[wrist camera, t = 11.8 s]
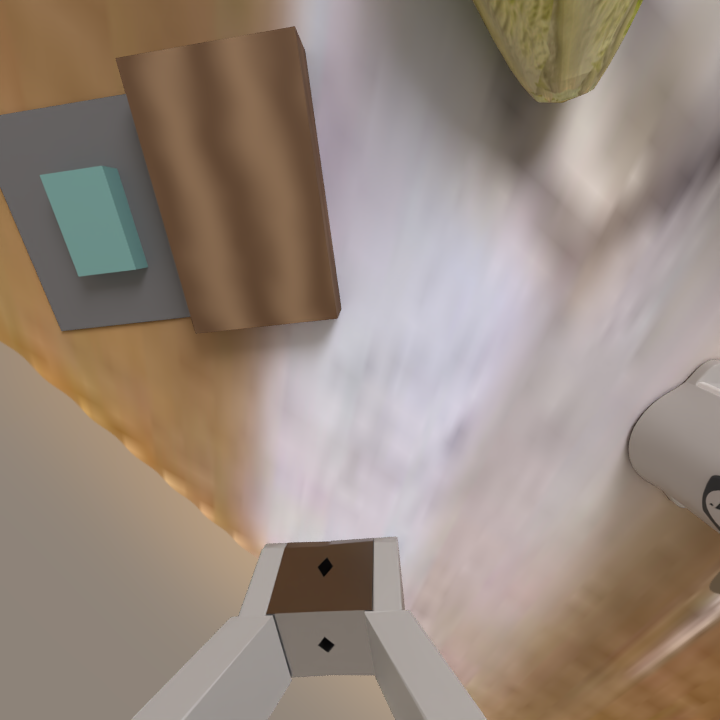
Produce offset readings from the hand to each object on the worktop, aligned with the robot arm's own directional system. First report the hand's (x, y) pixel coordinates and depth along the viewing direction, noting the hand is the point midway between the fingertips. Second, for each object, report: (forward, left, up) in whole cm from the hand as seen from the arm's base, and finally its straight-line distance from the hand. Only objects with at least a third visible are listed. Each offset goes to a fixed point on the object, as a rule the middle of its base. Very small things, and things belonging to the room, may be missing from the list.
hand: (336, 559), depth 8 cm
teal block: (+25, -10, -29) cm, 39 cm away
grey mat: (+26, -10, -31) cm, 42 cm away
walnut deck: (+10, -10, -31) cm, 34 cm away
